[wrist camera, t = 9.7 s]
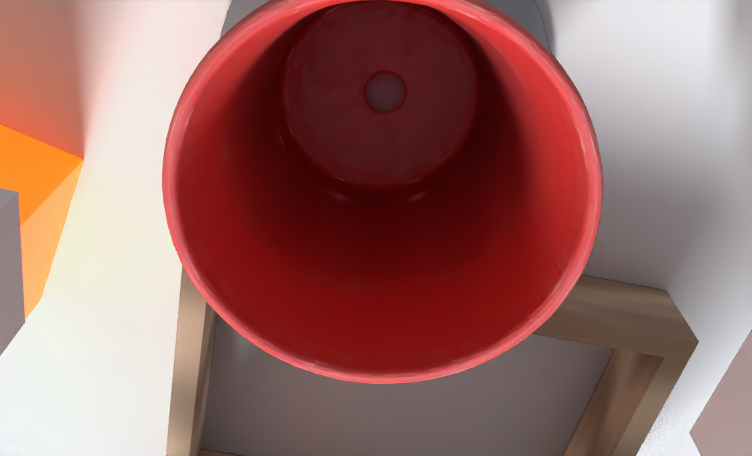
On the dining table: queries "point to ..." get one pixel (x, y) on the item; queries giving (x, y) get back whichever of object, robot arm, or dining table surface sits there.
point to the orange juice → (37, 201)
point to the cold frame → (569, 322)
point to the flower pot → (382, 184)
